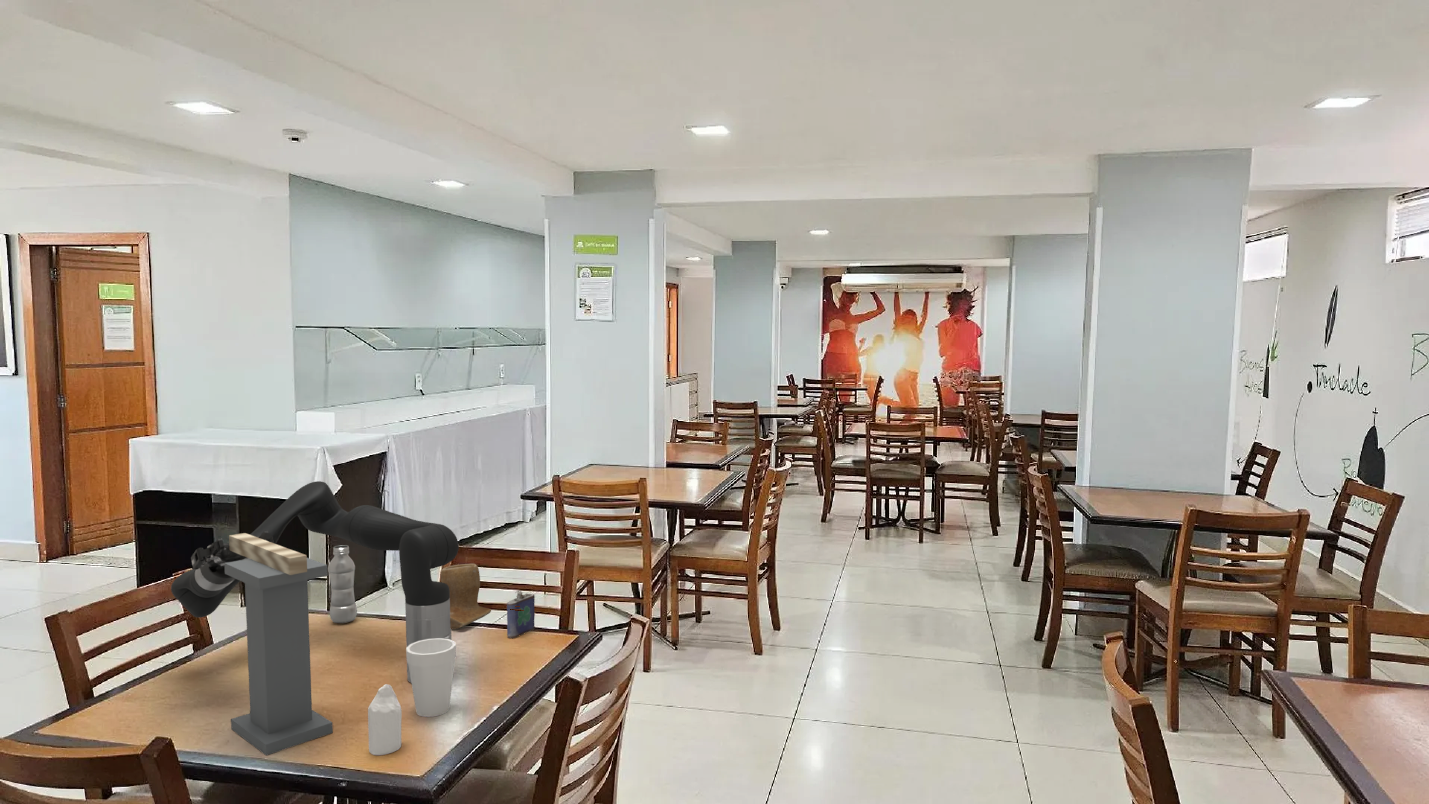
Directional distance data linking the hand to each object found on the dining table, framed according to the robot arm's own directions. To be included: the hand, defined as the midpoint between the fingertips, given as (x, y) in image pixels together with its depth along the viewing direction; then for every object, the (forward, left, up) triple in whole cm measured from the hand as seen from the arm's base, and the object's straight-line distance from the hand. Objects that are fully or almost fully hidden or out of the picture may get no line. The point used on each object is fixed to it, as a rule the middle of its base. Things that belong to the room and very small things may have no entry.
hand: (244, 539), depth 172 cm
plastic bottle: (-8, -54, -35) cm, 65 cm away
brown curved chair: (-38, -47, -35) cm, 70 cm away
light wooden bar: (-6, +8, -3) cm, 10 cm away
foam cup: (-35, +9, -35) cm, 50 cm away
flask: (-53, -34, -35) cm, 72 cm away
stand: (-8, +12, -35) cm, 37 cm away
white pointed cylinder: (-28, +24, -35) cm, 51 cm away
